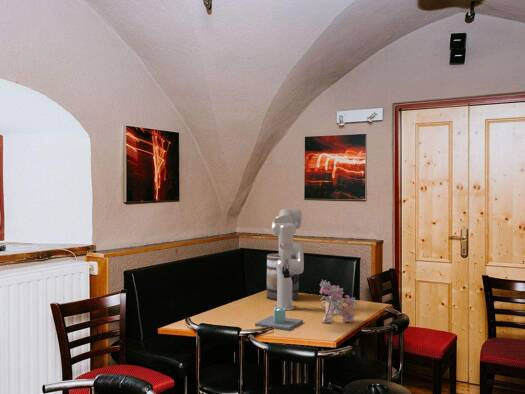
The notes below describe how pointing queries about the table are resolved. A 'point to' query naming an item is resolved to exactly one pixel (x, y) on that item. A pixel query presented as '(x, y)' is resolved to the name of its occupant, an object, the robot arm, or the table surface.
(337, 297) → the flower
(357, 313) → the table surface
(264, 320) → the base plate
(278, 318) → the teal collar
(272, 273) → the barrel
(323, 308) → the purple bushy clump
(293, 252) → the robot arm
